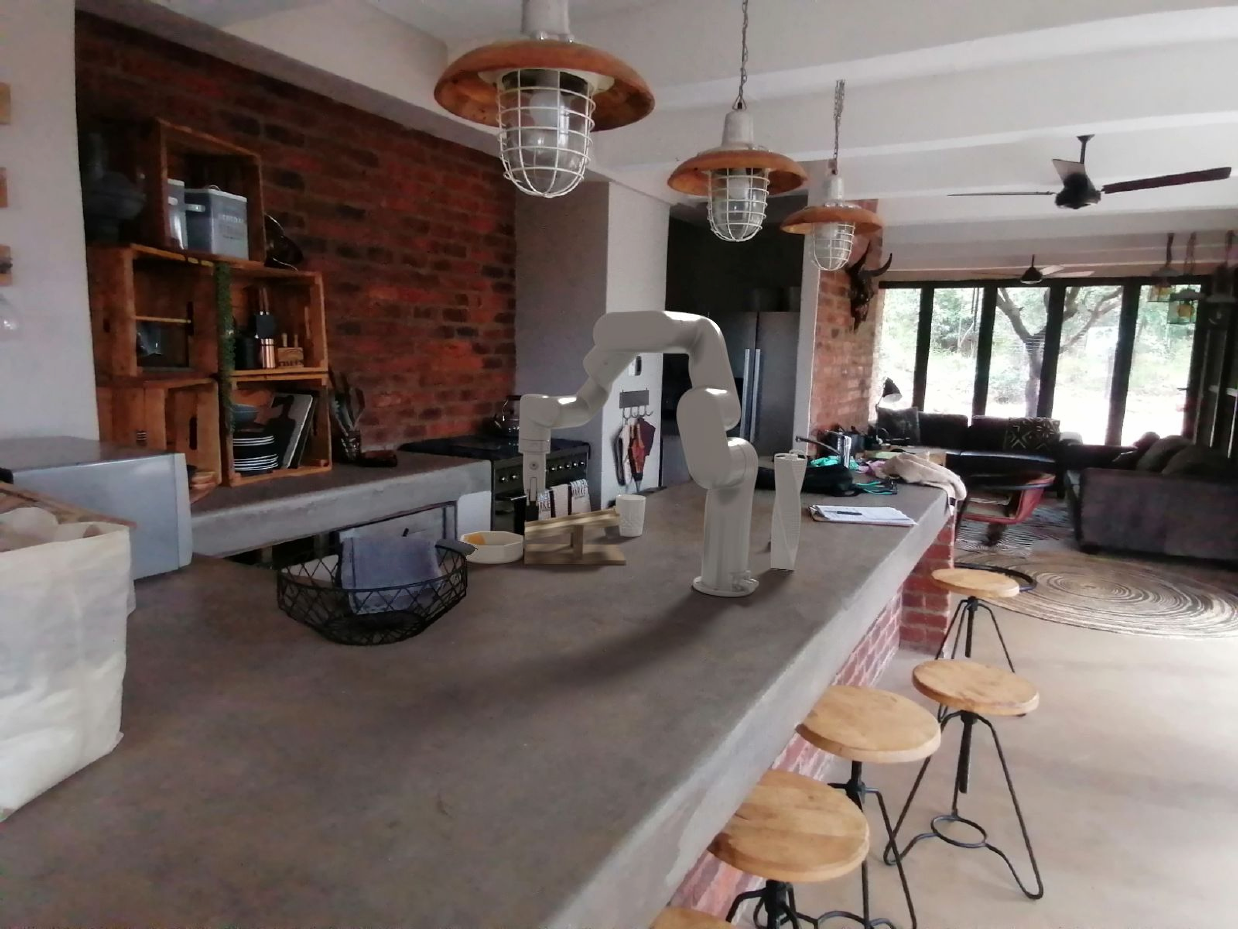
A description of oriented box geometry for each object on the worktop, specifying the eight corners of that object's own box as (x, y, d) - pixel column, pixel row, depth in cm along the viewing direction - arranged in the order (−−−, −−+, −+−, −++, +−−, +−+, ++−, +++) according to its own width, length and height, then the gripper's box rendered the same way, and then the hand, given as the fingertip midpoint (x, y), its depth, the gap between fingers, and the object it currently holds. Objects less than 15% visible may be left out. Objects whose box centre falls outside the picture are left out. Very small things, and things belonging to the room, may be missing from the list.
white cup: (641, 538, 206) (642, 500, 204) (611, 536, 207) (613, 498, 206) (646, 532, 214) (648, 495, 212) (617, 529, 215) (619, 493, 214)
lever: (615, 522, 197) (612, 500, 196) (623, 537, 182) (619, 513, 181) (527, 536, 195) (524, 514, 194) (527, 553, 180) (523, 529, 179)
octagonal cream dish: (523, 547, 192) (523, 531, 191) (523, 563, 178) (523, 546, 177) (462, 547, 190) (462, 530, 189) (457, 563, 176) (457, 545, 175)
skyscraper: (799, 573, 179) (809, 450, 175) (766, 570, 181) (774, 448, 177) (798, 564, 187) (807, 446, 183) (766, 561, 188) (775, 444, 184)
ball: (460, 541, 182) (469, 556, 182) (473, 536, 180) (482, 551, 181) (469, 533, 185) (478, 548, 186) (482, 528, 183) (490, 543, 184)
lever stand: (618, 548, 194) (620, 512, 193) (625, 564, 181) (627, 525, 179) (524, 547, 192) (525, 511, 190) (524, 563, 178) (525, 524, 176)
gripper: (551, 451, 182) (548, 528, 185) (549, 442, 197) (546, 514, 200) (518, 450, 181) (515, 528, 184) (518, 441, 196) (516, 514, 199)
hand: (531, 521), depth 192 cm, fingers closed
